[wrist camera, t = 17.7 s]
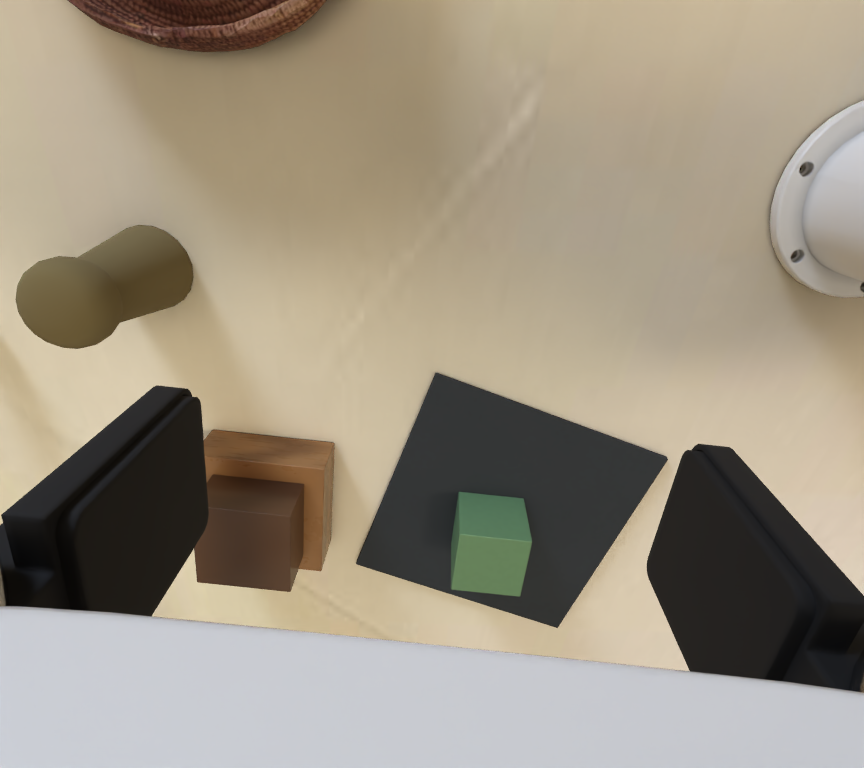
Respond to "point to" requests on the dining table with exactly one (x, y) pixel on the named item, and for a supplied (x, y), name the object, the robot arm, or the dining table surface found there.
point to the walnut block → (251, 533)
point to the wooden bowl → (201, 21)
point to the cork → (104, 287)
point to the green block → (490, 544)
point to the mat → (507, 494)
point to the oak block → (282, 477)
